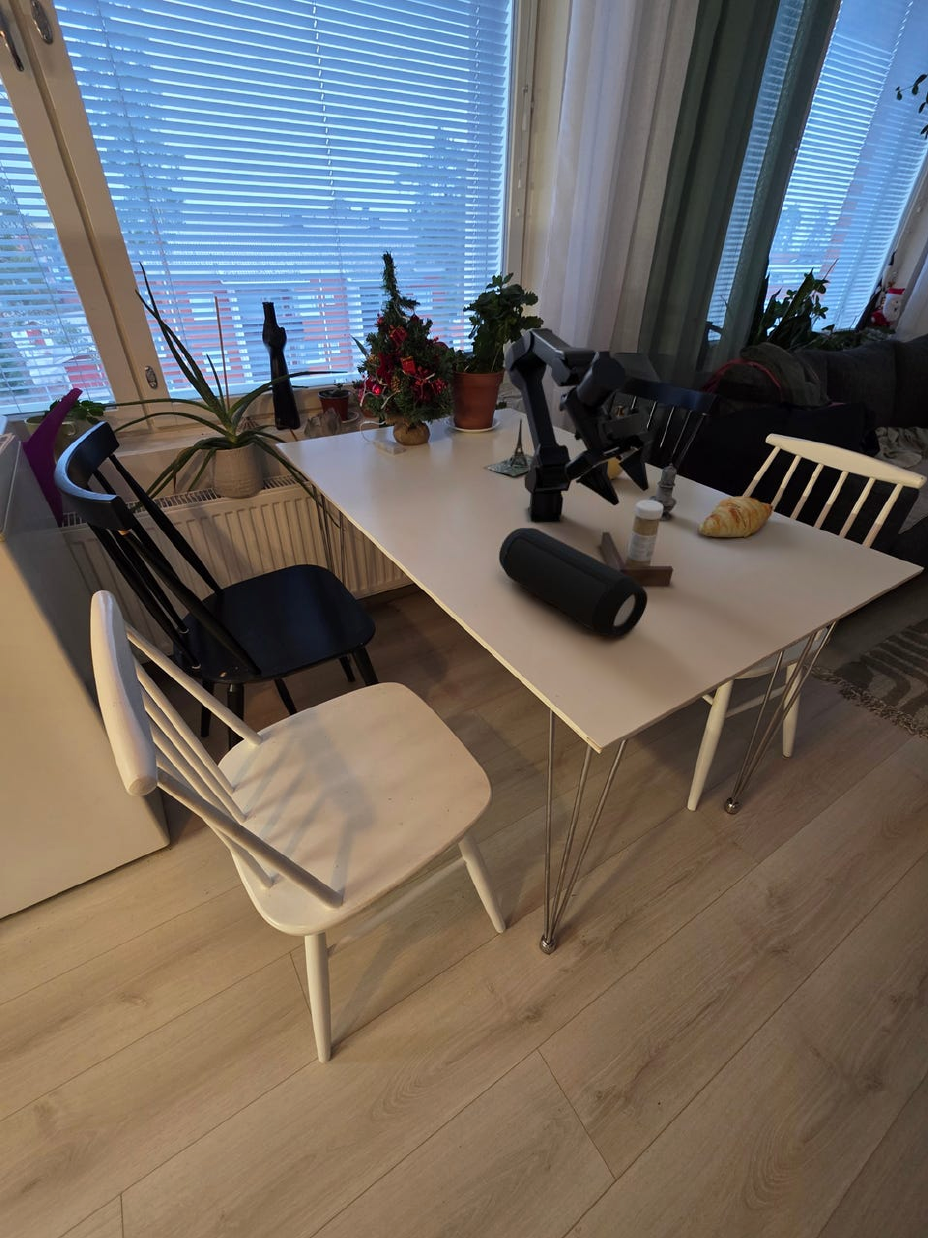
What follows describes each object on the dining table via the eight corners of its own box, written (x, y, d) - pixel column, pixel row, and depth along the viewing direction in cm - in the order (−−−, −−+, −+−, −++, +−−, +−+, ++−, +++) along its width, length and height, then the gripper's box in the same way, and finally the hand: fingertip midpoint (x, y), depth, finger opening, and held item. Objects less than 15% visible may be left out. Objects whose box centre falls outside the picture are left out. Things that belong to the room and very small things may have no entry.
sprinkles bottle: (637, 563, 101) (651, 497, 93) (654, 574, 98) (669, 506, 90) (618, 568, 99) (631, 501, 92) (634, 580, 96) (649, 511, 88)
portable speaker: (643, 628, 84) (657, 575, 78) (603, 652, 80) (614, 598, 74) (533, 564, 101) (537, 516, 95) (493, 581, 96) (495, 532, 90)
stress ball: (623, 487, 131) (631, 447, 125) (583, 484, 133) (589, 445, 127) (621, 472, 139) (628, 434, 133) (583, 470, 141) (588, 432, 135)
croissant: (705, 558, 109) (730, 535, 102) (677, 521, 112) (700, 496, 106) (771, 533, 117) (799, 510, 110) (743, 499, 121) (768, 475, 114)
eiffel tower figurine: (514, 478, 136) (517, 425, 128) (486, 468, 142) (487, 417, 134) (551, 464, 144) (556, 414, 136) (523, 455, 150) (526, 406, 142)
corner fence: (616, 586, 95) (620, 569, 92) (600, 547, 106) (602, 531, 104) (668, 586, 94) (673, 569, 92) (646, 547, 106) (650, 531, 104)
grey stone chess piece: (674, 522, 115) (688, 468, 108) (646, 519, 116) (658, 466, 109) (671, 510, 120) (684, 459, 113) (644, 508, 121) (655, 457, 114)
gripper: (589, 400, 81) (636, 489, 81) (654, 382, 91) (697, 461, 91) (545, 439, 90) (588, 519, 91) (608, 418, 101) (647, 490, 101)
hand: (631, 496), depth 93 cm, fingers open, 9 cm apart
